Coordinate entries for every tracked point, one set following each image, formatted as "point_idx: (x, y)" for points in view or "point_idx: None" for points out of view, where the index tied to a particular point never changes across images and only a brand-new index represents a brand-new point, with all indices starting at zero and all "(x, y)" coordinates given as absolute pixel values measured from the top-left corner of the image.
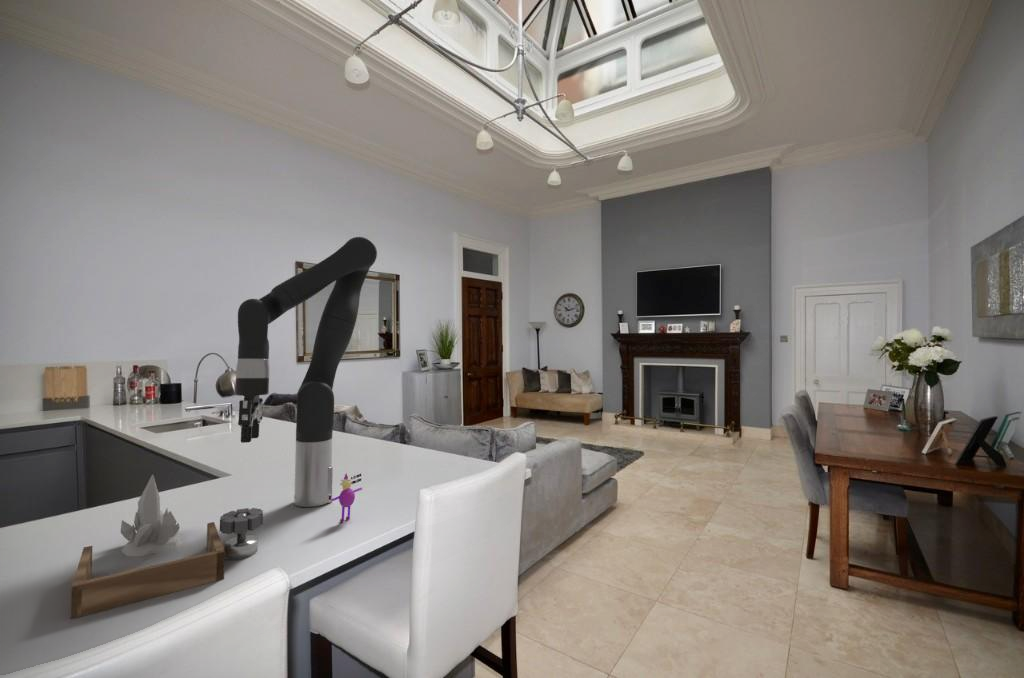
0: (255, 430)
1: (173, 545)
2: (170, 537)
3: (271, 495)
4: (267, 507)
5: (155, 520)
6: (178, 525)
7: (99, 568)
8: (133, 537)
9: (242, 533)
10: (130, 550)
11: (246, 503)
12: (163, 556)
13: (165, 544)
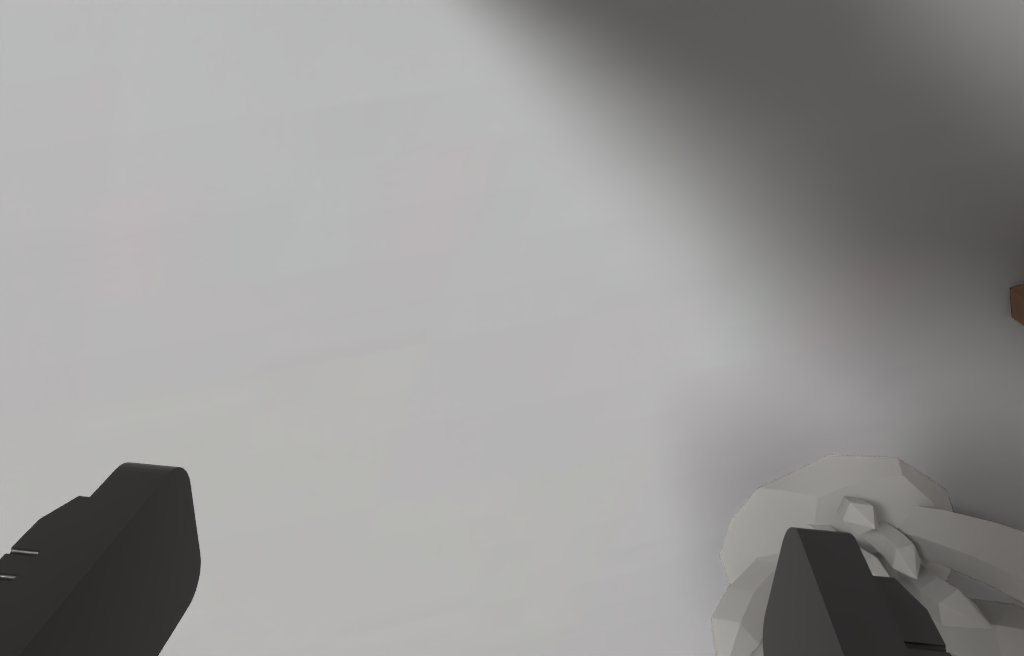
0: (112, 606)
1: (908, 469)
2: (877, 508)
3: (110, 78)
4: (414, 69)
5: None
6: (872, 517)
7: None
8: None
9: None
10: None
11: (282, 236)
12: (1020, 474)
13: (935, 504)
